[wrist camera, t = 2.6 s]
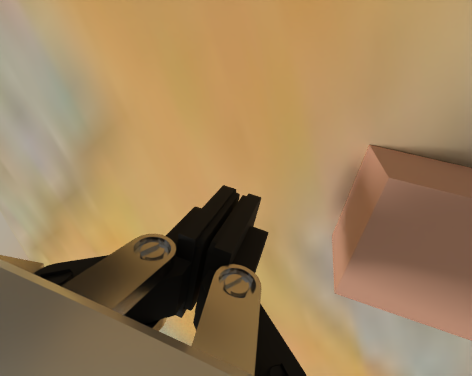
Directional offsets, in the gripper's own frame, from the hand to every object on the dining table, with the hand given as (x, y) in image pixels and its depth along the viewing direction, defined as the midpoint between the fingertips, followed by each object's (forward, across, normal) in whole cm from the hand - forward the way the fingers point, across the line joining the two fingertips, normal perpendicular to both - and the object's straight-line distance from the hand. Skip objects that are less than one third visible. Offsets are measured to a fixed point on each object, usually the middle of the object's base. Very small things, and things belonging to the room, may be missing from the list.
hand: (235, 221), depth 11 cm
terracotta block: (+6, -9, -1) cm, 11 cm away
